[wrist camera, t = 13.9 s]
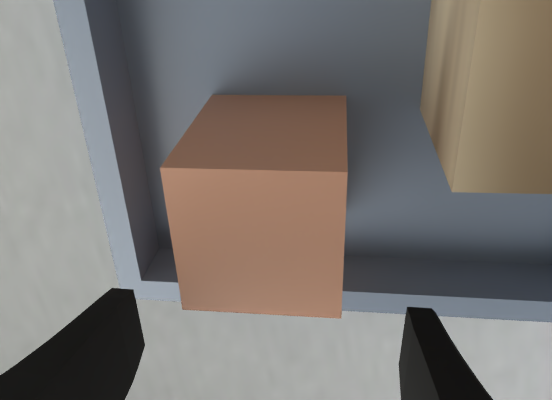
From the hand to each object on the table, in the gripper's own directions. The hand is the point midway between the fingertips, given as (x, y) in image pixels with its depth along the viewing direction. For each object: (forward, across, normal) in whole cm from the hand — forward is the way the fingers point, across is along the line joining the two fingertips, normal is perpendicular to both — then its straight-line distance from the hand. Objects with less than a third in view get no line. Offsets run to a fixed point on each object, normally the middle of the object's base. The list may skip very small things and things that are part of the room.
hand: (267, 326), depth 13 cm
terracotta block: (+5, 0, -3) cm, 5 cm away
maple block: (+5, -6, -6) cm, 10 cm away
